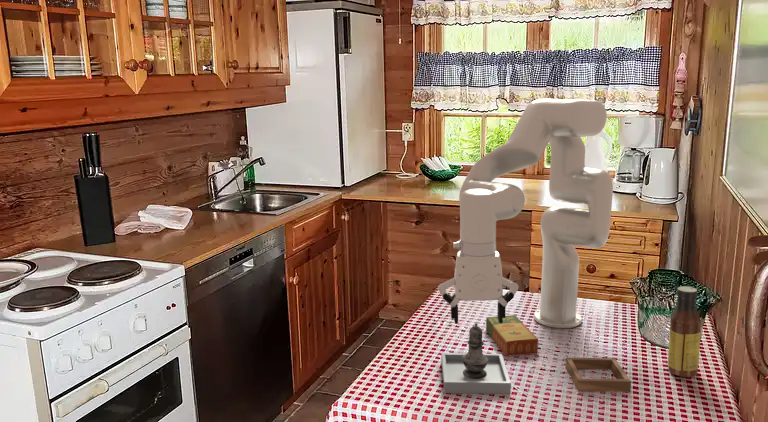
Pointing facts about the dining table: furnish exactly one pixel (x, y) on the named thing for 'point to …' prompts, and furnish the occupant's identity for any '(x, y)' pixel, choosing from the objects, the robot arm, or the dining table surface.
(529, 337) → the carton
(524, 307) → the dining table surface
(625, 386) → the wooden square frame
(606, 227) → the robot arm
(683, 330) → the sauce bottle
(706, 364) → the dining table surface
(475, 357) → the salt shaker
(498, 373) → the tray
